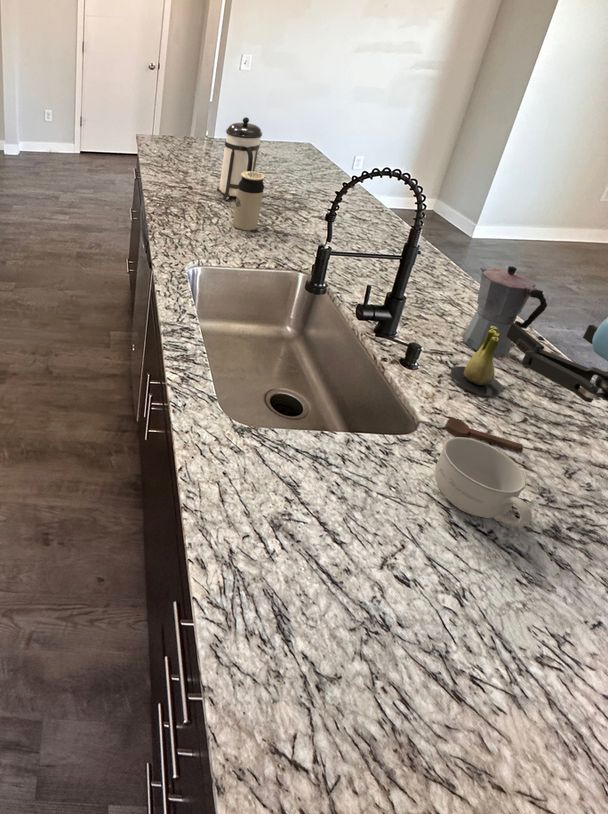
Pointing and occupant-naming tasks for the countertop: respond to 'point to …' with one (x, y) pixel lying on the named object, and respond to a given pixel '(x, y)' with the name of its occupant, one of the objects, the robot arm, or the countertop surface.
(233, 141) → the coffee press
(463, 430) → the wooden spoon
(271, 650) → the countertop surface
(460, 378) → the slate coaster
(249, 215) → the travel mug
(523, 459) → the countertop surface
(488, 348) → the fennel bulb
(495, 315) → the moka pot
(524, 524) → the teacup
